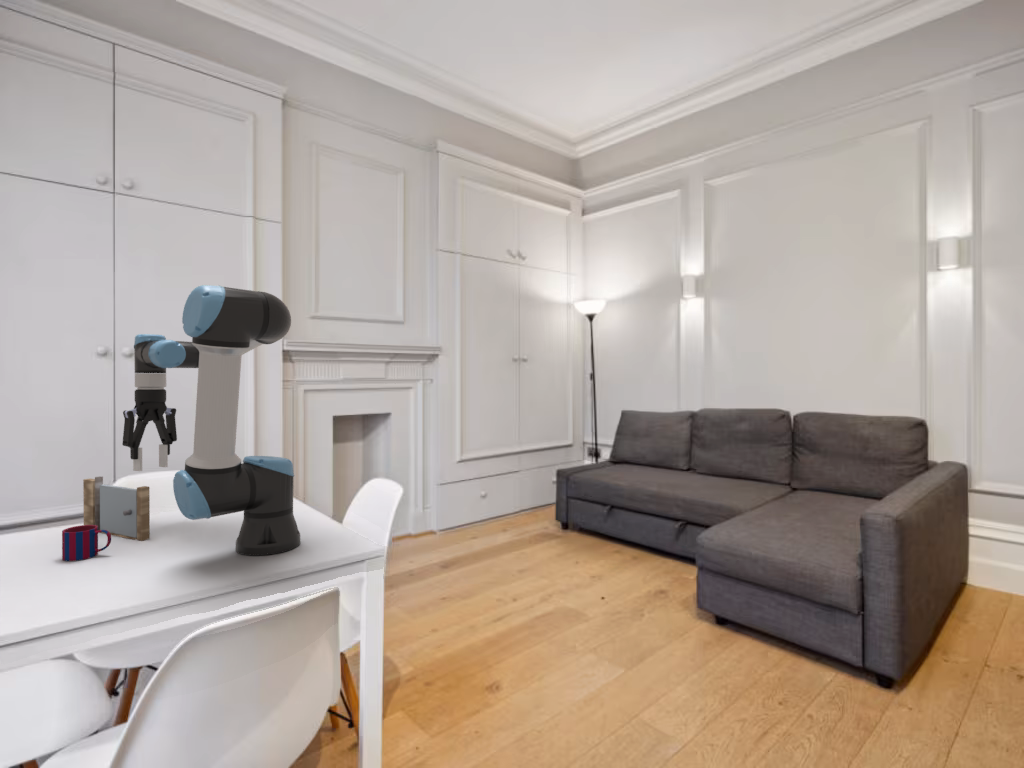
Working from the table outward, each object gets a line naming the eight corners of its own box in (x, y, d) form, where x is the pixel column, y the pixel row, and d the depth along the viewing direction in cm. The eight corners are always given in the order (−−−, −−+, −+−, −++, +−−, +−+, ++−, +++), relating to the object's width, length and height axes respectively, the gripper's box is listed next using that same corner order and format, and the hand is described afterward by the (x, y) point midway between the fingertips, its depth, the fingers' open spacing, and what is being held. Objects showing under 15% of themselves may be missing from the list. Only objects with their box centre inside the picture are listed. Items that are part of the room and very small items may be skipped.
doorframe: (150, 538, 142) (150, 482, 142) (141, 541, 140) (140, 484, 140) (91, 526, 153) (91, 474, 153) (82, 528, 151) (81, 476, 151)
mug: (77, 552, 132) (77, 524, 132) (118, 552, 132) (118, 524, 132) (54, 561, 125) (54, 532, 125) (97, 561, 125) (97, 532, 125)
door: (94, 531, 147) (94, 486, 147) (104, 529, 150) (104, 484, 149) (130, 539, 141) (130, 491, 141) (140, 536, 143) (140, 489, 143)
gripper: (175, 387, 163) (175, 462, 163) (105, 388, 145) (105, 473, 145) (191, 388, 160) (191, 464, 160) (122, 389, 142) (122, 475, 142)
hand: (150, 468), depth 153 cm, fingers open, 6 cm apart
